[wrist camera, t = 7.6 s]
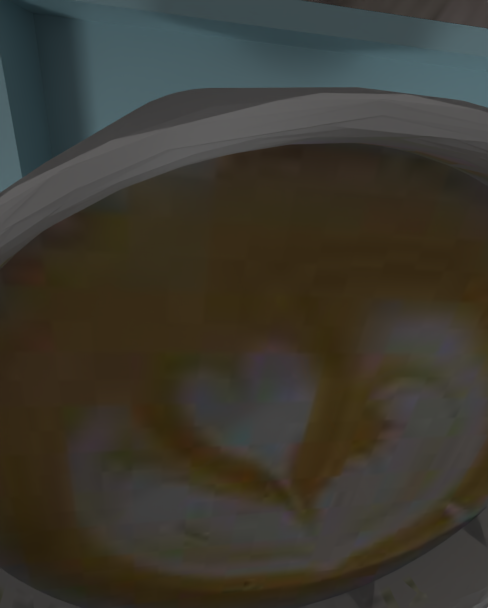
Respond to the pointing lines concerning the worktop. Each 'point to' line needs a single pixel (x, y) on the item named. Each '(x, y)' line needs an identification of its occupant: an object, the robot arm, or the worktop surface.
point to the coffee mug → (249, 357)
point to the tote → (205, 60)
